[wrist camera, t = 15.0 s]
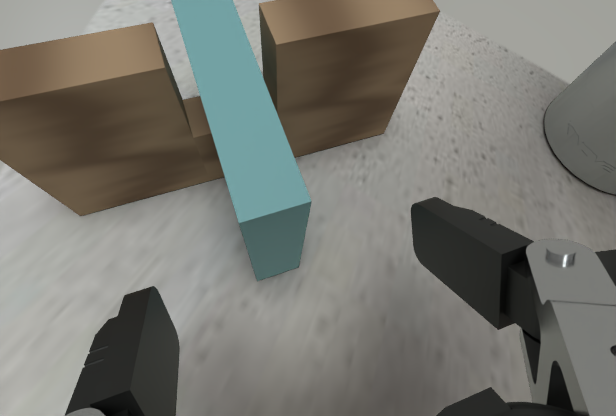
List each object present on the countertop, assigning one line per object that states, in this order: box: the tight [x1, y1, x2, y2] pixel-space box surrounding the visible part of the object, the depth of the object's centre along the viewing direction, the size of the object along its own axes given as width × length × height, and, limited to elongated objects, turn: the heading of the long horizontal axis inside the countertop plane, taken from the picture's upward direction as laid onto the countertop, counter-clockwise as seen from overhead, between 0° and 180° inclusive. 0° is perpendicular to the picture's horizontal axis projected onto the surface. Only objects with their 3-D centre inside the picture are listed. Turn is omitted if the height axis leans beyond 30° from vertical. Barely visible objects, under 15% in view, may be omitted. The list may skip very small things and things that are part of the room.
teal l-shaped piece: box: [171, 0, 311, 281], centre depth 18 cm, size 14×2×10 cm, turn 20°
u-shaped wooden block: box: [0, 0, 440, 216], centre depth 19 cm, size 20×2×10 cm, turn 110°
